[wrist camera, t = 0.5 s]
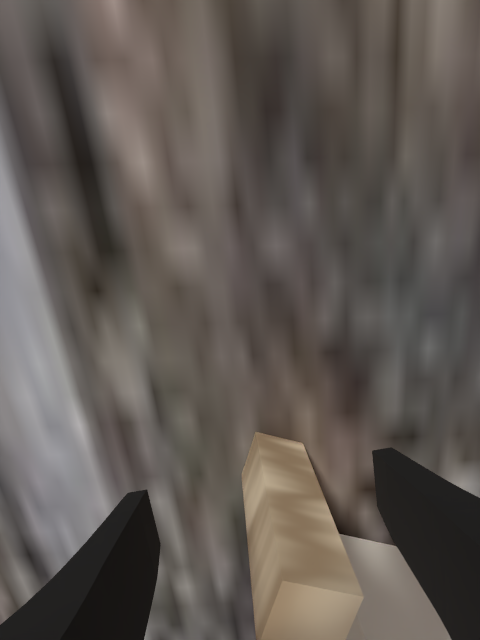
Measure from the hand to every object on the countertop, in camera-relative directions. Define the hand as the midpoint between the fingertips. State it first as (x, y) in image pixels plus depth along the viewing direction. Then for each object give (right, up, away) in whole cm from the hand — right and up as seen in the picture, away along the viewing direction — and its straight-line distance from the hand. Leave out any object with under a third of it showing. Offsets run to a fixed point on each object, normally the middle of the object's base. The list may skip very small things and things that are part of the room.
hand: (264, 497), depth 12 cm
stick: (+1, -3, +11) cm, 12 cm away
